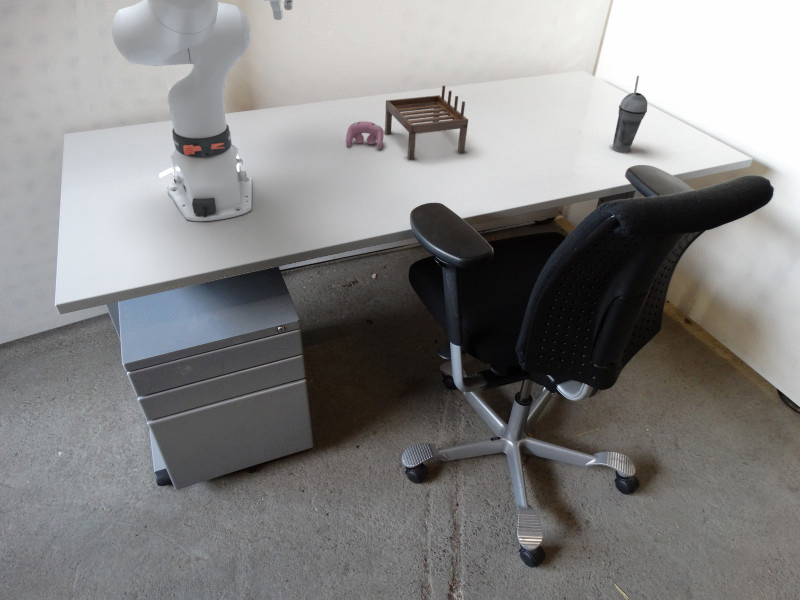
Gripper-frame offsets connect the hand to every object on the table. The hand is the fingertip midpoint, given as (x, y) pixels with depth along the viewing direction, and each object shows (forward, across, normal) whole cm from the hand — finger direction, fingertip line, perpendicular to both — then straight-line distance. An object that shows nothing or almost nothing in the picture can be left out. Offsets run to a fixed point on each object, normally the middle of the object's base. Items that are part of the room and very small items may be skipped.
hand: (283, 14), depth 138 cm
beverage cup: (+32, +14, -90) cm, 96 cm away
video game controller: (+32, +1, -19) cm, 37 cm away
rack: (+32, +6, -35) cm, 47 cm away
